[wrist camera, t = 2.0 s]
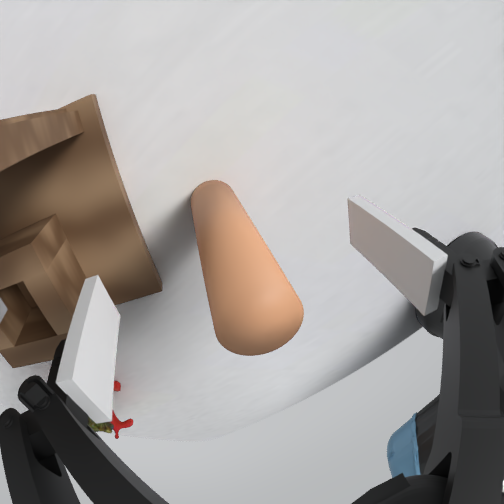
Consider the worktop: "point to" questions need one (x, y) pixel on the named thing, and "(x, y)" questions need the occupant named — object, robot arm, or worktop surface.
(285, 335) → the peg
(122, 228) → the socket station
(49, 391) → the robot arm
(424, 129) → the worktop surface
